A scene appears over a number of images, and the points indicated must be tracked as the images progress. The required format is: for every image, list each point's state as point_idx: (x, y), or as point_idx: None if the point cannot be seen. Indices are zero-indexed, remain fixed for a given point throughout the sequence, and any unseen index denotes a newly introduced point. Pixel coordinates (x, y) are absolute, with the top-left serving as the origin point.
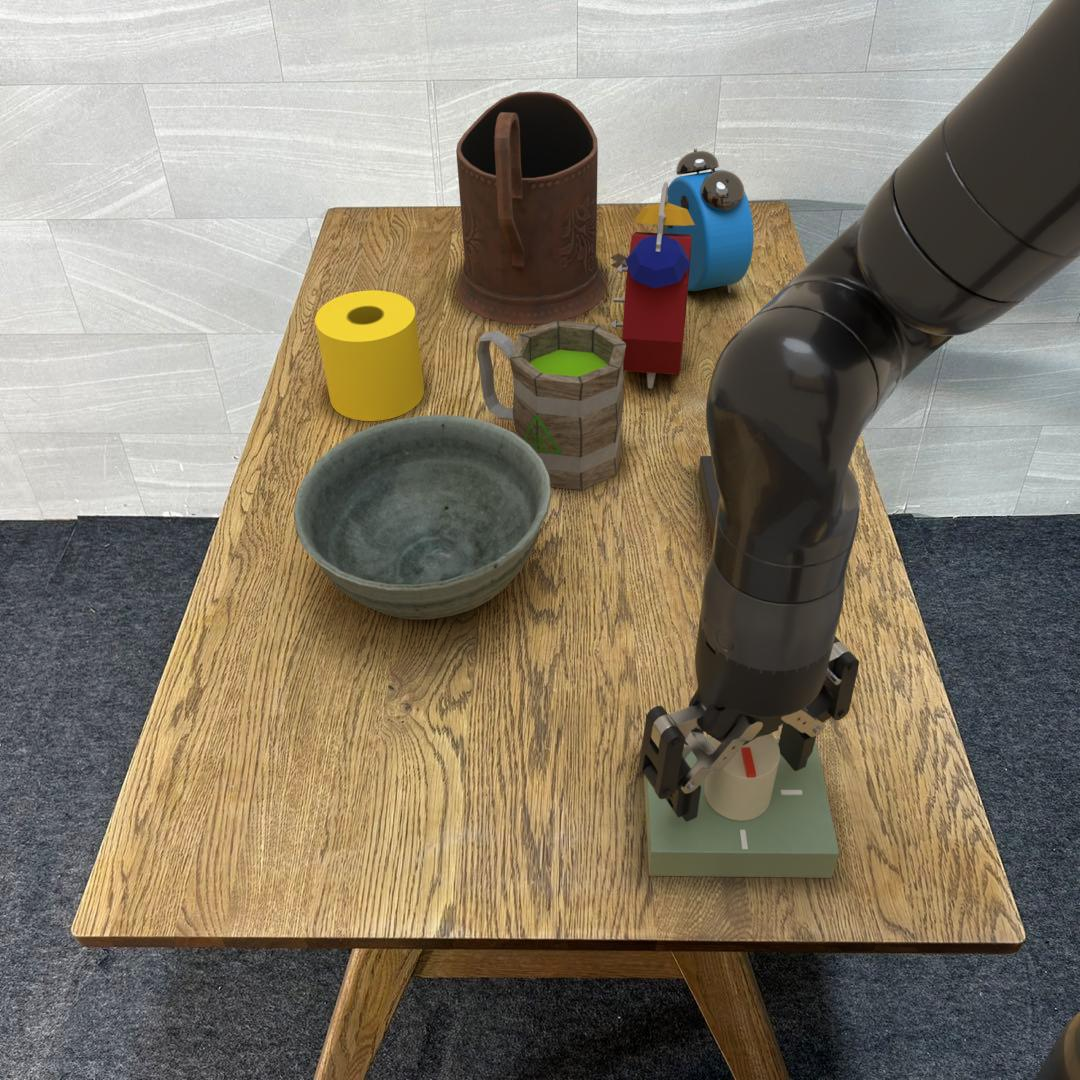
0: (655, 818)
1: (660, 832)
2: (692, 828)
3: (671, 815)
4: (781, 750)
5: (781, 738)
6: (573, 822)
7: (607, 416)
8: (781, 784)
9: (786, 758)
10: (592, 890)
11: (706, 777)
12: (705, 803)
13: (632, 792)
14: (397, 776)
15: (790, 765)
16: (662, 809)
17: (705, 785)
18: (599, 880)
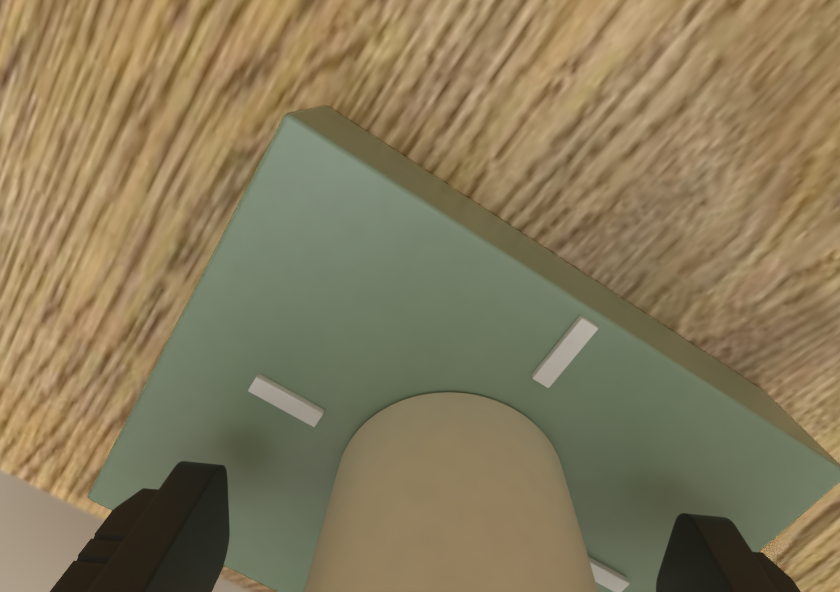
0: (150, 421)
1: (142, 466)
2: (241, 506)
3: (204, 441)
4: (685, 538)
5: (718, 576)
6: (17, 175)
7: None
8: (596, 532)
9: (672, 558)
10: (4, 374)
11: (337, 494)
12: (331, 464)
13: (236, 183)
14: None
15: (662, 570)
16: (185, 412)
17: (343, 465)
18: (30, 362)
